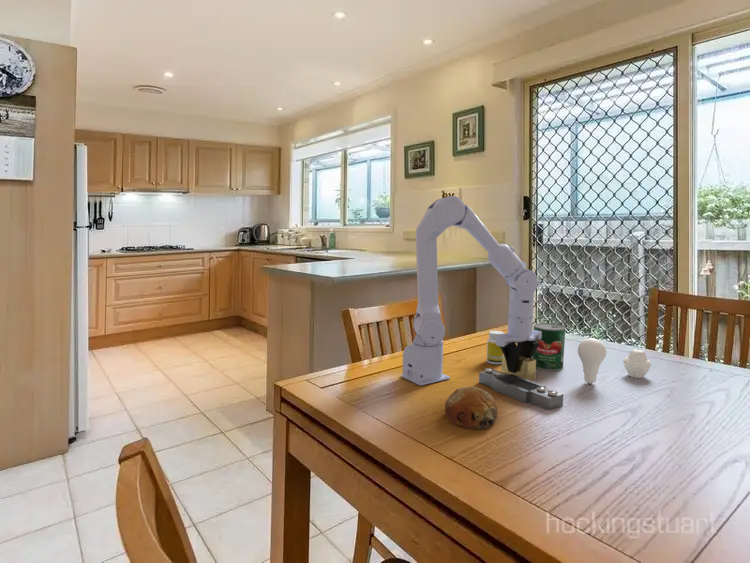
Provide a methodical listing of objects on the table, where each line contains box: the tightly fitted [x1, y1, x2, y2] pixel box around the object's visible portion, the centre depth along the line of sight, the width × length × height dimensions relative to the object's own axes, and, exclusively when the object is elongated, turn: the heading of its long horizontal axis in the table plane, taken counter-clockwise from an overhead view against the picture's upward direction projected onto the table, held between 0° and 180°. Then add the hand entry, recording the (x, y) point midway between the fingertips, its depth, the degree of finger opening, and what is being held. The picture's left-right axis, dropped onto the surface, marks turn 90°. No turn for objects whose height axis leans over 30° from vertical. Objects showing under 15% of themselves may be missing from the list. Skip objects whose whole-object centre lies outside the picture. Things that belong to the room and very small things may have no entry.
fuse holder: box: [478, 367, 564, 411], centre depth 103 cm, size 7×20×3 cm, turn 33°
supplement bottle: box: [486, 330, 505, 365], centre depth 125 cm, size 5×5×8 cm
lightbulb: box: [577, 337, 607, 385], centre depth 109 cm, size 6×6×11 cm
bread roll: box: [444, 386, 499, 430], centre depth 89 cm, size 10×10×8 cm
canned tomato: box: [532, 322, 567, 372], centre depth 122 cm, size 8×8×11 cm
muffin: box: [622, 348, 652, 379], centre depth 114 cm, size 6×6×7 cm
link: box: [500, 354, 537, 381], centre depth 114 cm, size 3×8×5 cm, turn 33°
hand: (518, 370), depth 114 cm, fingers open, 4 cm apart
